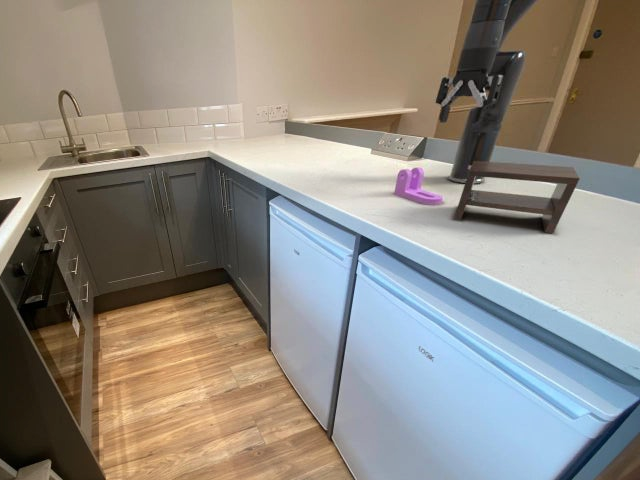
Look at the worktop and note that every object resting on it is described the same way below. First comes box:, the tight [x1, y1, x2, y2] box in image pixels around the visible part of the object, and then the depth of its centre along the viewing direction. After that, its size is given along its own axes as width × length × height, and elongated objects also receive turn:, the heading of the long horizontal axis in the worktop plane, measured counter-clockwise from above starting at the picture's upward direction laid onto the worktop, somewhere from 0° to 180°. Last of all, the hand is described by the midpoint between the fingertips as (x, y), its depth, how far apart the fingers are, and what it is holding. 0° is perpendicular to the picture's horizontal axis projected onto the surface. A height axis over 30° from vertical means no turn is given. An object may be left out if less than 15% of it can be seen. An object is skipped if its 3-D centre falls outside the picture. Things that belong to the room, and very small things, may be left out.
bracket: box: [393, 167, 443, 206], centre depth 91 cm, size 13×6×7 cm, turn 20°
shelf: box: [453, 161, 580, 234], centre depth 75 cm, size 11×18×11 cm, turn 55°
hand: (458, 123), depth 89 cm, fingers open, 8 cm apart
